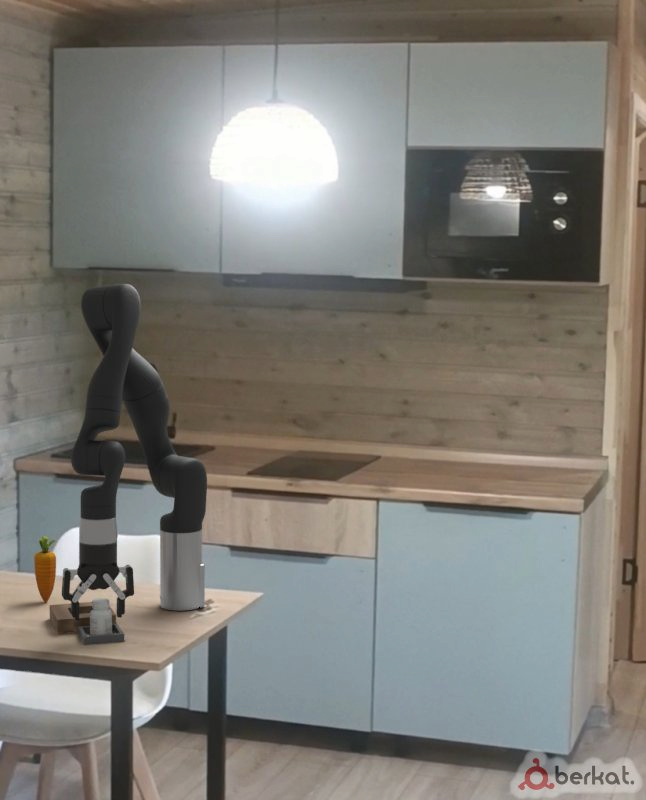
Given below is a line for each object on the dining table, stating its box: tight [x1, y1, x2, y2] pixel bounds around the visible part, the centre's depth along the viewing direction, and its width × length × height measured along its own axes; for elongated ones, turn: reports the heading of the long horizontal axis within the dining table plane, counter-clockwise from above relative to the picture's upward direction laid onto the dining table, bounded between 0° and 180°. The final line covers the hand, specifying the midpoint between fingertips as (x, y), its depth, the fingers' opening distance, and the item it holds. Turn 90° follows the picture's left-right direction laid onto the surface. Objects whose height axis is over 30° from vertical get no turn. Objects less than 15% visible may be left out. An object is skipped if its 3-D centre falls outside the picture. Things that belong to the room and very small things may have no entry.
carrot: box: [33, 535, 57, 603], centre depth 295 cm, size 5×5×15 cm
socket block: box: [49, 601, 117, 635], centre depth 279 cm, size 12×12×3 cm
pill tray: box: [77, 623, 125, 646], centre depth 269 cm, size 8×8×2 cm
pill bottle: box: [89, 597, 113, 636], centre depth 269 cm, size 4×4×8 cm
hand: (98, 618), depth 269 cm, fingers open, 8 cm apart
